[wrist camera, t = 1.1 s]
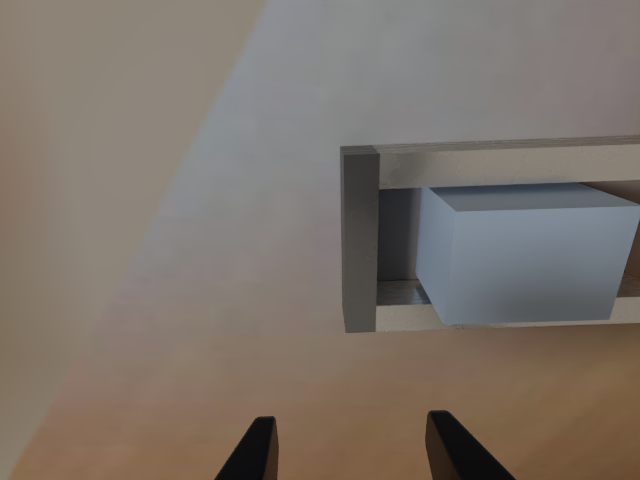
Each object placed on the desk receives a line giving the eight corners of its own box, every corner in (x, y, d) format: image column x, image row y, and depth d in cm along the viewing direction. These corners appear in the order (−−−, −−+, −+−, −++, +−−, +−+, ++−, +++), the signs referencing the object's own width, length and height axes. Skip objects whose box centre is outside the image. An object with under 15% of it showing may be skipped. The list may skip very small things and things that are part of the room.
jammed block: (561, 177, 19) (643, 205, 14) (542, 267, 20) (609, 319, 16) (421, 181, 19) (456, 211, 14) (414, 271, 20) (443, 324, 16)
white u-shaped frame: (667, 134, 18) (720, 141, 15) (618, 296, 21) (656, 322, 19) (340, 146, 18) (343, 155, 15) (342, 306, 21) (345, 332, 19)
